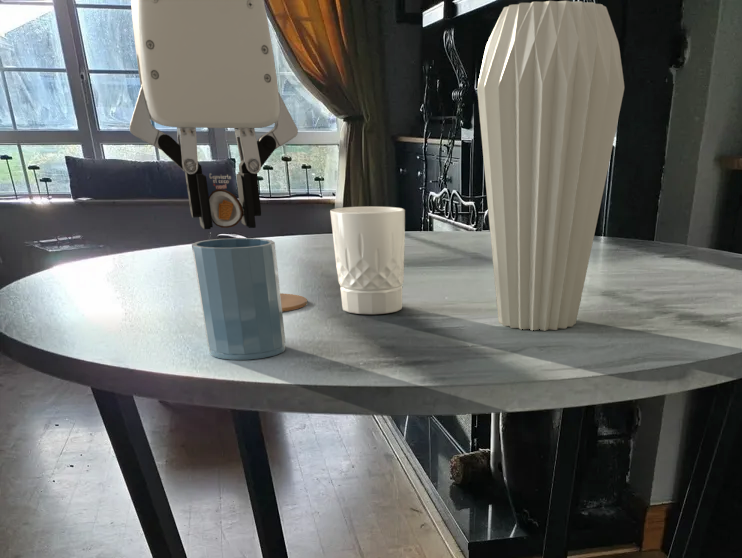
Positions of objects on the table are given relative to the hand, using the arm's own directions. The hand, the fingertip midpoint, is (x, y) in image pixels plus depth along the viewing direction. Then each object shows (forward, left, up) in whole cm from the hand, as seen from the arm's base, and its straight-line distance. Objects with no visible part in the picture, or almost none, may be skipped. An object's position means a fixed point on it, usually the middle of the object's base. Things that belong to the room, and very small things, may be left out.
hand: (227, 224), depth 66 cm
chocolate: (0, 0, 0) cm, 0 cm away
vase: (+30, +1, -11) cm, 32 cm away
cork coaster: (+5, +21, -10) cm, 24 cm away
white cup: (+16, +14, -11) cm, 24 cm away
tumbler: (0, 0, -10) cm, 10 cm away
